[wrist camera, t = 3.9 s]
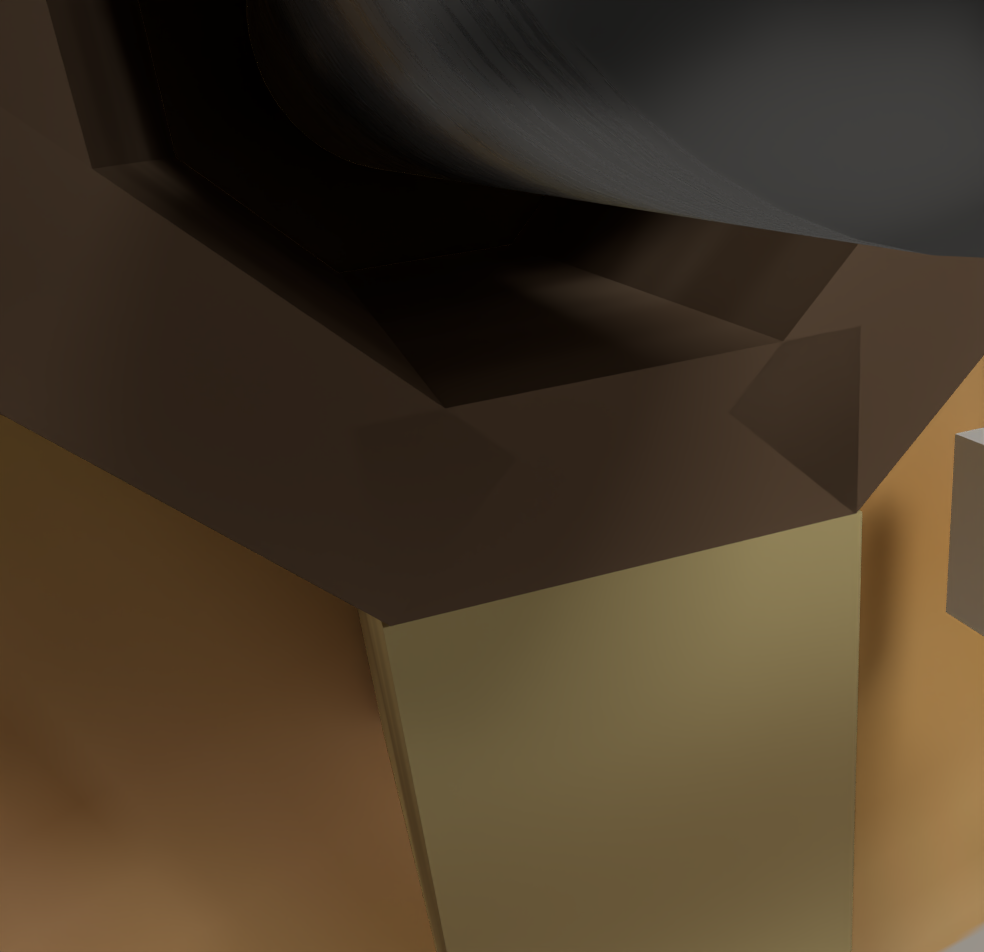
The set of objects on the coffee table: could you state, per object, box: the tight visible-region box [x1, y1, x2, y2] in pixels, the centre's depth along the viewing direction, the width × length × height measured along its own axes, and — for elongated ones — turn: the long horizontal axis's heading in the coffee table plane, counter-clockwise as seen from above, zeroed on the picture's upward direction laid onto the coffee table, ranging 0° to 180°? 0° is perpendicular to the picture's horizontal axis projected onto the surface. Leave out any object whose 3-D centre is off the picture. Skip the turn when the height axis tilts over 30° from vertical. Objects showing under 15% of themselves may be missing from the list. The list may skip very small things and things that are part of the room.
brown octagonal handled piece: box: [0, 0, 984, 952], centre depth 8 cm, size 12×8×6 cm, turn 7°
